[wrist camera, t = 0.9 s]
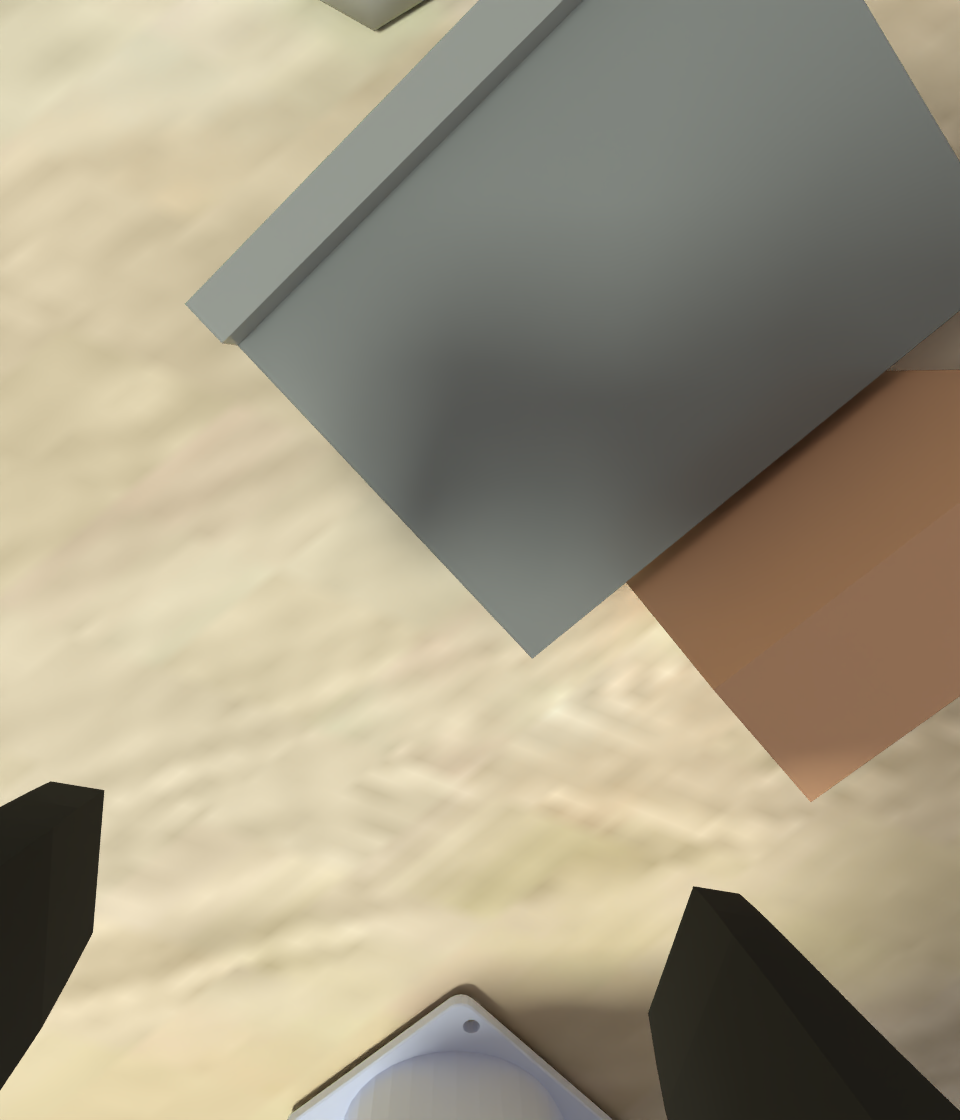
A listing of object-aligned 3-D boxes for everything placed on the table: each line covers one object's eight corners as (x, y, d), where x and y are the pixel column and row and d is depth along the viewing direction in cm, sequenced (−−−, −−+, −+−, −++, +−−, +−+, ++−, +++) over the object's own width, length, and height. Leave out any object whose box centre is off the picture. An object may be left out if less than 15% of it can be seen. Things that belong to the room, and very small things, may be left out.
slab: (938, 462, 17) (1218, 512, 11) (690, 656, 18) (810, 801, 12) (877, 370, 16) (1135, 367, 10) (623, 578, 18) (713, 690, 11)
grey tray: (977, 270, 16) (1058, 254, 14) (527, 640, 18) (536, 675, 16) (705, -177, 13) (750, -281, 11) (222, 313, 15) (185, 304, 13)
